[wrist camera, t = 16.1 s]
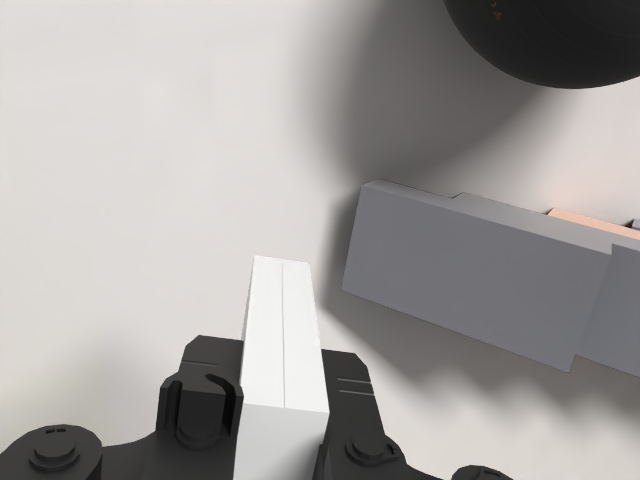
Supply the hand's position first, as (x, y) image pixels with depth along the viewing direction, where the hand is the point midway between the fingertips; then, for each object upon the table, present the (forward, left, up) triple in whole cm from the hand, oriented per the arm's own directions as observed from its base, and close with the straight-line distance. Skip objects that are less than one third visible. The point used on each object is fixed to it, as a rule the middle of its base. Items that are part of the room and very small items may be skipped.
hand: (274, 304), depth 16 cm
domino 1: (+4, -1, -10) cm, 11 cm away
